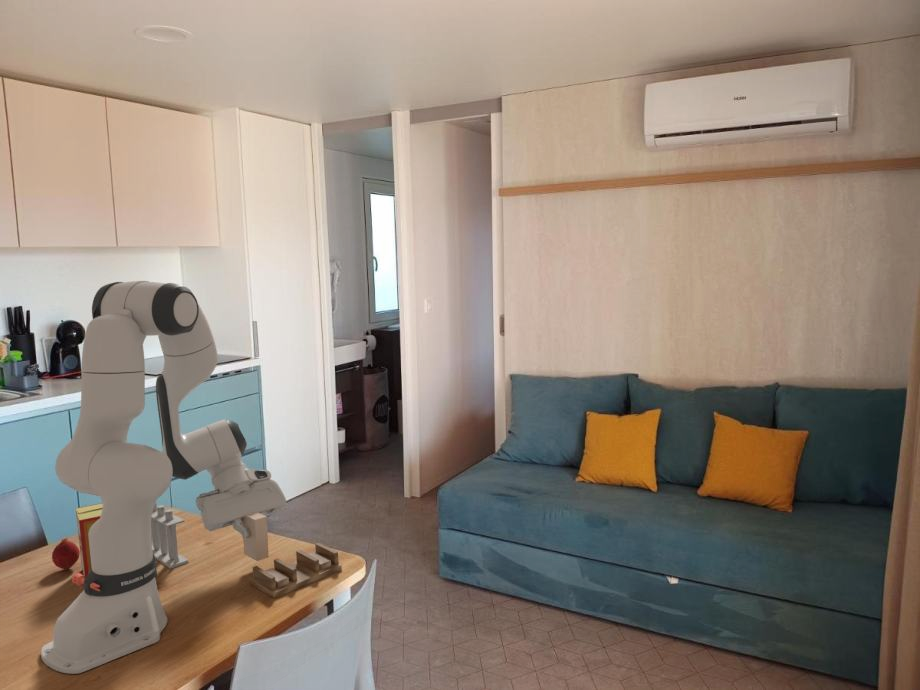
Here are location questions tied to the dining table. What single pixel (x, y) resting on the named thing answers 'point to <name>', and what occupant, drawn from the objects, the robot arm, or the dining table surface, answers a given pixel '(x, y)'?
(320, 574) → the slotted holder block
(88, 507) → the baking soda box
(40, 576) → the dining table surface
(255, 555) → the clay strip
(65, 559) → the onion
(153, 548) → the test tube rack
